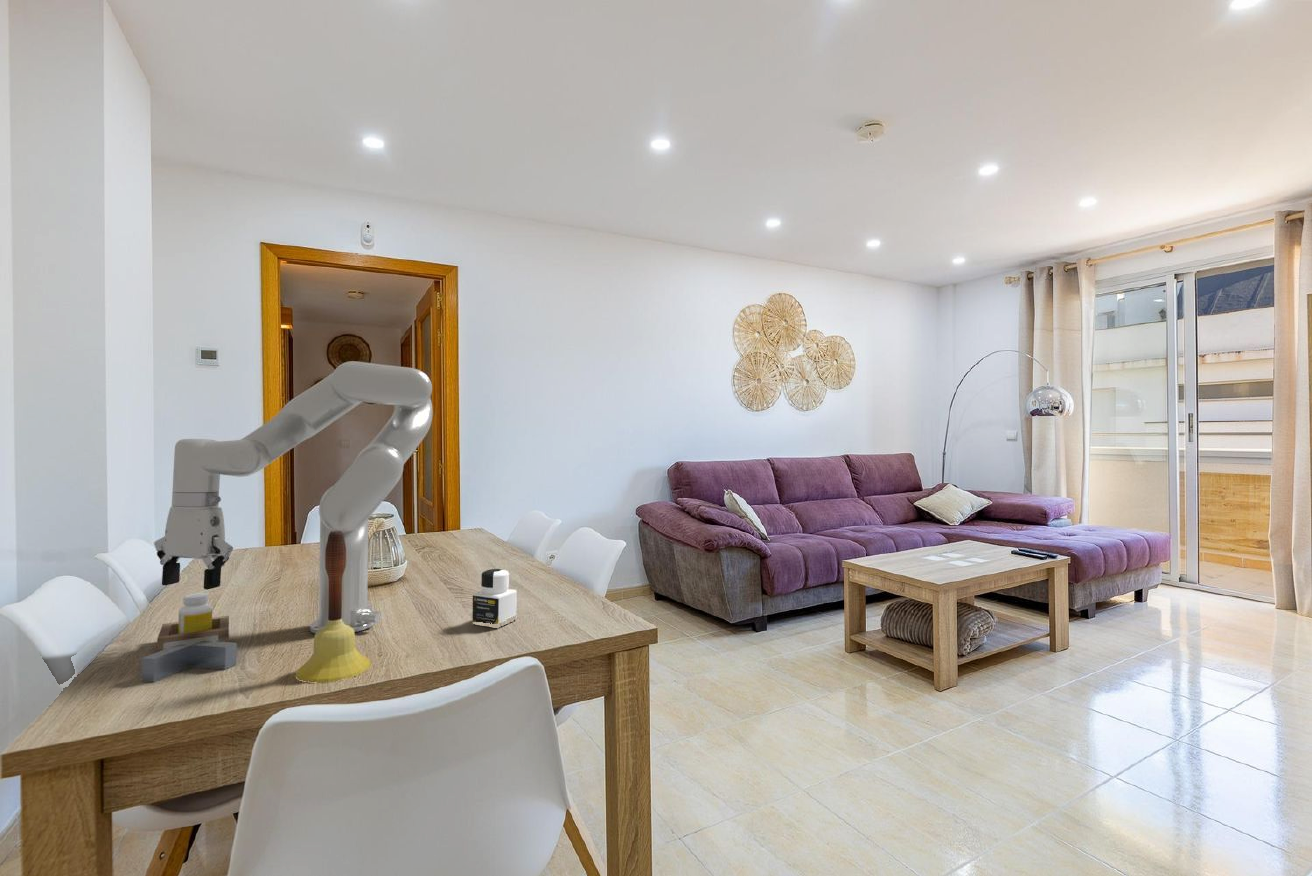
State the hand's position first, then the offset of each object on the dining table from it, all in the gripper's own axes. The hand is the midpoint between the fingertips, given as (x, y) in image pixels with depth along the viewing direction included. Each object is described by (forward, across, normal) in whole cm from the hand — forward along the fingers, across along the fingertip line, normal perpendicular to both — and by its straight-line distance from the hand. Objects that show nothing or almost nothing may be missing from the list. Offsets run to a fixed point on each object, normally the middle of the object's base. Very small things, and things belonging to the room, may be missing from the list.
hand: (191, 586), depth 122 cm
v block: (+12, -12, +10) cm, 20 cm away
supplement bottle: (+12, -1, -1) cm, 12 cm away
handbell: (+11, -37, +5) cm, 39 cm away
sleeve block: (+12, -1, -1) cm, 12 cm away
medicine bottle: (+10, -53, -27) cm, 60 cm away
